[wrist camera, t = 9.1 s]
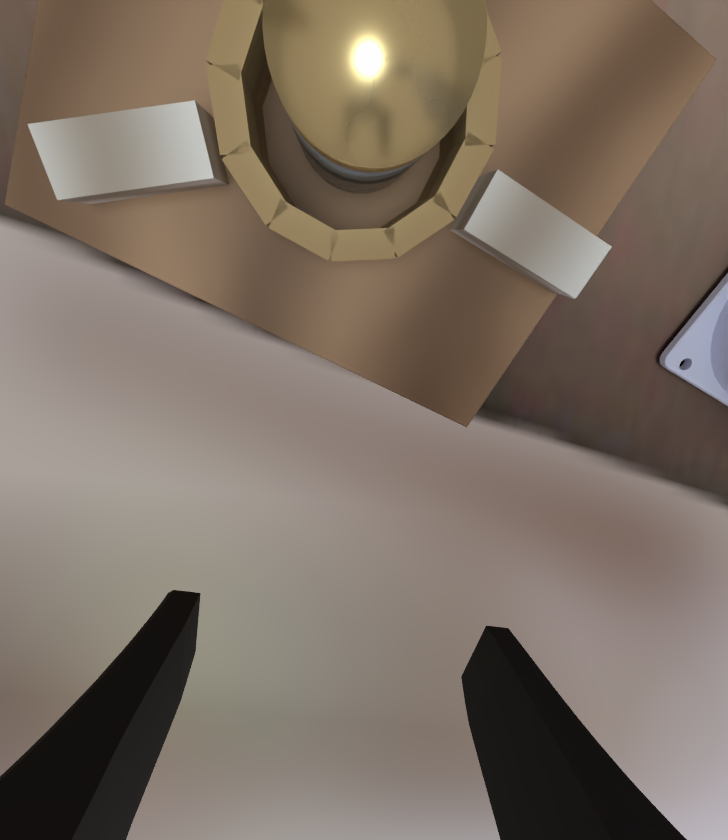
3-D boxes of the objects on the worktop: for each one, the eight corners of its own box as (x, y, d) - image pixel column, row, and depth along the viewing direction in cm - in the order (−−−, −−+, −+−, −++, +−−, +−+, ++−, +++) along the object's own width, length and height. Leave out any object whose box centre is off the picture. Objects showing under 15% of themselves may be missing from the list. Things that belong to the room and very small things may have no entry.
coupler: (449, 96, 13) (533, -6, 7) (378, 219, 14) (404, 210, 8) (337, 1, 12) (336, -204, 6) (272, 143, 13) (223, 78, 7)
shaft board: (691, 70, 14) (821, 11, 10) (460, 417, 18) (490, 463, 15) (138, -412, 9) (8, -833, 6) (26, 205, 14) (-83, 196, 10)
